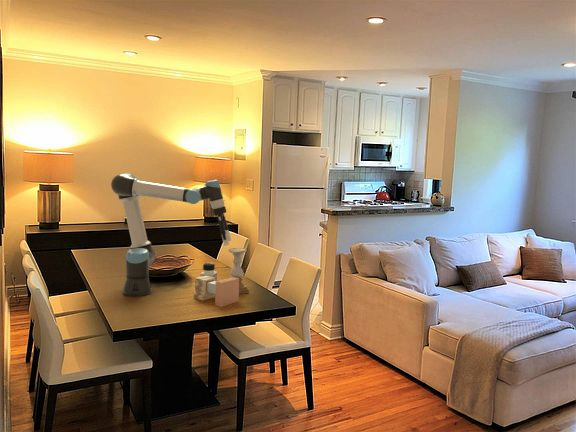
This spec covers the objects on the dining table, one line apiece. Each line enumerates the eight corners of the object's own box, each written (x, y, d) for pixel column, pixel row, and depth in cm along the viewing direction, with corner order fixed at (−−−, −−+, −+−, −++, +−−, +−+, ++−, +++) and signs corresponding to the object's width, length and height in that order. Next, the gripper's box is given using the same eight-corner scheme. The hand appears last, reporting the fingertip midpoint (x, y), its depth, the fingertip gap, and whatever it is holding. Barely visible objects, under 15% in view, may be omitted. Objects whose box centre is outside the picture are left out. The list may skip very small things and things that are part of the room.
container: (212, 287, 284) (212, 265, 282) (199, 286, 285) (200, 264, 284) (217, 284, 291) (217, 262, 290) (204, 283, 293) (205, 261, 291)
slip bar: (198, 289, 262) (198, 280, 262) (205, 287, 266) (205, 278, 266) (218, 294, 253) (219, 285, 253) (225, 292, 258) (225, 283, 257)
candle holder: (230, 295, 269) (231, 252, 267) (223, 290, 279) (224, 248, 276) (249, 293, 274) (250, 250, 272) (241, 288, 284) (242, 247, 281)
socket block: (215, 305, 250) (215, 281, 248) (232, 299, 260) (233, 276, 259) (221, 306, 247) (221, 282, 246) (238, 301, 258) (239, 278, 256)
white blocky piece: (193, 297, 261) (193, 278, 260) (207, 294, 269) (207, 275, 268) (202, 300, 257) (203, 280, 256) (216, 296, 265) (216, 277, 264)
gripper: (222, 207, 266) (232, 245, 269) (226, 203, 291) (235, 238, 294) (209, 211, 266) (219, 248, 269) (214, 206, 291) (223, 240, 294)
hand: (227, 243), depth 281 cm, fingers open, 13 cm apart
